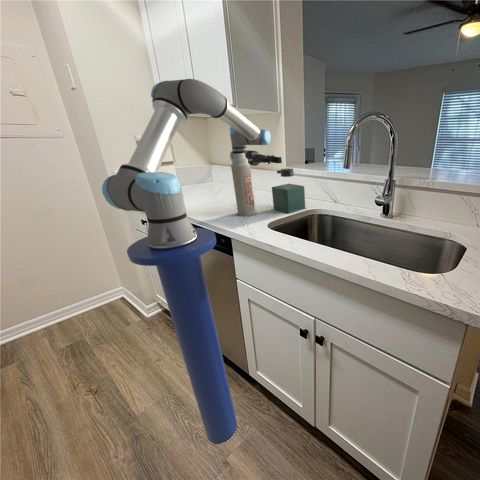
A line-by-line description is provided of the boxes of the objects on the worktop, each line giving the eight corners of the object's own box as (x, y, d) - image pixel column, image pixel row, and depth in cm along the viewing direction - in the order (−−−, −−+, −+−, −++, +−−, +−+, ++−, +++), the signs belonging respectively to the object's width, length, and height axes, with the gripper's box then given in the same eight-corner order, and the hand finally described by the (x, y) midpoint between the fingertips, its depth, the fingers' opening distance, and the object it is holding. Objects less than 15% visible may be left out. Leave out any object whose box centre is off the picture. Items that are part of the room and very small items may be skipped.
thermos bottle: (258, 213, 123) (251, 150, 112) (244, 216, 117) (235, 151, 106) (249, 210, 128) (241, 150, 117) (234, 213, 122) (225, 151, 111)
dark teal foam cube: (271, 208, 129) (269, 186, 125) (288, 204, 136) (286, 183, 132) (288, 213, 121) (287, 189, 117) (305, 208, 129) (304, 186, 124)
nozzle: (273, 175, 124) (272, 169, 123) (283, 173, 128) (282, 167, 127) (286, 177, 118) (286, 170, 117) (296, 175, 122) (295, 169, 121)
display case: (170, 196, 160) (155, 135, 147) (181, 197, 156) (167, 135, 142) (151, 200, 151) (134, 135, 138) (163, 202, 147) (146, 135, 133)
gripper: (261, 164, 143) (291, 167, 128) (241, 166, 134) (270, 170, 119) (260, 149, 140) (290, 150, 125) (239, 151, 131) (268, 152, 116)
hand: (280, 160), depth 122 cm, fingers closed
